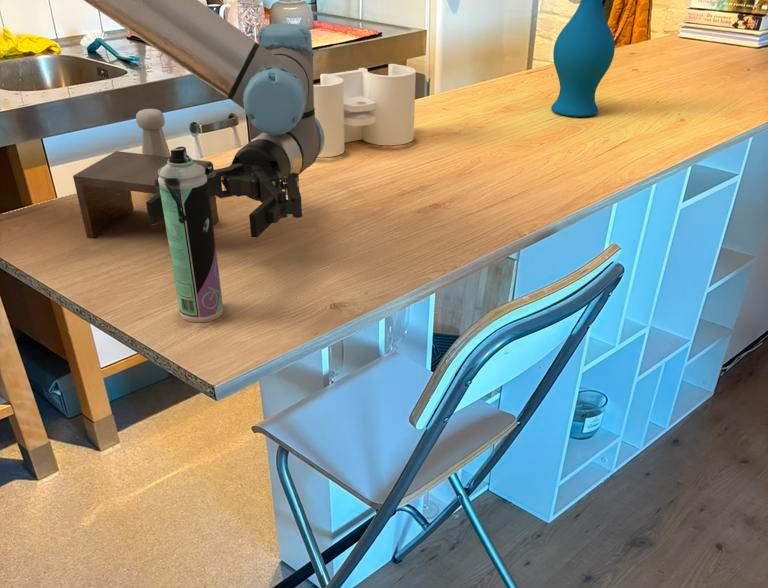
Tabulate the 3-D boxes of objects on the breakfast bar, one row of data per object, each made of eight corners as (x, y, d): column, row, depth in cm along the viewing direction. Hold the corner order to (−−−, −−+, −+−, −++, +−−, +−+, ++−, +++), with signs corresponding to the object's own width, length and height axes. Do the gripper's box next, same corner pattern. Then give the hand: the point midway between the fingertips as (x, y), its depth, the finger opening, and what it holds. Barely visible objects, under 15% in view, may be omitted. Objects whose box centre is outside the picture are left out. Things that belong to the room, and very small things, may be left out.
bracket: (314, 161, 150) (312, 89, 142) (289, 147, 156) (285, 77, 148) (423, 140, 161) (426, 72, 153) (395, 128, 167) (397, 62, 159)
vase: (551, 102, 184) (571, -47, 165) (607, 108, 181) (634, -43, 162) (540, 116, 175) (560, -40, 157) (599, 122, 172) (626, -36, 154)
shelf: (86, 237, 122) (72, 175, 116) (127, 209, 130) (116, 150, 125) (184, 250, 118) (174, 187, 112) (218, 221, 127) (211, 161, 121)
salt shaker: (137, 195, 135) (121, 111, 127) (162, 185, 139) (149, 103, 130) (161, 203, 133) (147, 117, 124) (187, 193, 136) (175, 109, 128)
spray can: (223, 321, 102) (203, 155, 89) (179, 323, 101) (152, 156, 88) (223, 301, 106) (203, 140, 93) (180, 304, 105) (154, 141, 92)
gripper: (351, 202, 114) (299, 262, 99) (189, 183, 119) (115, 237, 104) (350, 146, 109) (295, 200, 94) (182, 129, 114) (103, 177, 99)
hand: (200, 220), depth 99 cm, fingers open, 13 cm apart
